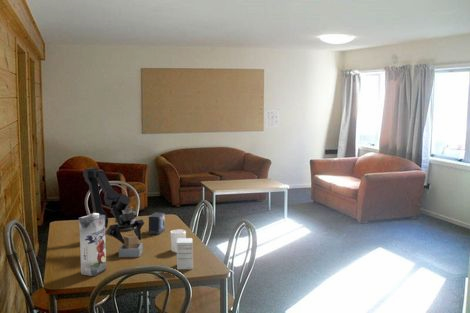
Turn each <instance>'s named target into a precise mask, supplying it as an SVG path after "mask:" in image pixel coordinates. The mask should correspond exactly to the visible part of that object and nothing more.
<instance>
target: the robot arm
mask: <svg viewBox="0 0 470 313" xmlns="http://www.w3.org/2000/svg"><path fill="white" fill-rule="evenodd" d="M82 176H83V177H84V181H85V182H86V184H87V185H88V188H89V192H90V199H91V206H92V213H91V214H93V213H99V214H100V215H105V239H106V237H107V236H108V237H109V236H110V237H112V238H115V239H116V240H118V241H119V242H121V244H122V243H123V244H124V243H125V242H124V236H123V235H122V234H121V231H124V230H123V229H128V228H133V229H132V230H133V232H134V235H135V236H138V241H141V240H142V236H141V228H142V227H143V226H144V224H145V222H144V219H136V218H137V217H138V214H137V212H136V211H135V210H132V212H131V213H128V214H127V213H125V211H124V210H125V209H126V208H127V207H128V206H130V204H131V197H129V195H126V194H125V193H120V194H119V193H118V191H117V190H114V189H113V186H112V185H111V183H110V182H109V179H108V177H107V176H106V173H105V171H104V170H103V169H99V168H98V167H88V168H85V169H84V170H83V171H82ZM99 187H100V188H101V191H102V193H103V196H104V197H103V200H104V203H105V206H106V207H110V208H111V210H110V215H111V214H112V215H113V217H114V219H115V220H114V223H115V224H110V225H109V217H108V212H107V211H105V210H104V209H103V207H102V205H103V204H102V199H101V192H100V188H99ZM133 219H136V220H135V222H134V223H133V224H130V223H131V222H132V220H133ZM108 225H109V227H108ZM106 229H107V230H106Z"/></svg>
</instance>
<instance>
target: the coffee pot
mask: <svg viewBox="0 0 470 313" xmlns="http://www.w3.org/2000/svg"><path fill="white" fill-rule="evenodd" d="M102 208H105V209H106V210H110V211H111V208H112V207H111V206H107V205H103V204H102ZM133 208H134V207H133V206H132V205H128V207H127V208H126V209H125V210H124V211H125V213H127V214H128V213H131V212H132V211H133ZM135 220H137V219H136V218H135V219H133V220H132V222H131V223H130V224H133V223H134V222H135ZM132 230H134V229H133V228H128V229H123V230H122V231H132Z"/></svg>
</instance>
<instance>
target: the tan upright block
mask: <svg viewBox="0 0 470 313" xmlns="http://www.w3.org/2000/svg"><path fill="white" fill-rule="evenodd" d="M123 239H124V242H125V243H124V249H128V248H138V243H139V239H138V236H136V234H133V233H132V234H128V235H123Z"/></svg>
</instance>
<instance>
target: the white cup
mask: <svg viewBox="0 0 470 313" xmlns="http://www.w3.org/2000/svg"><path fill="white" fill-rule="evenodd" d="M169 232H170V246H171V252H173V253H177V238H187V230H185V229H182V228H181V229H179V228H178V229H173V230H170V231H169Z"/></svg>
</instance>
